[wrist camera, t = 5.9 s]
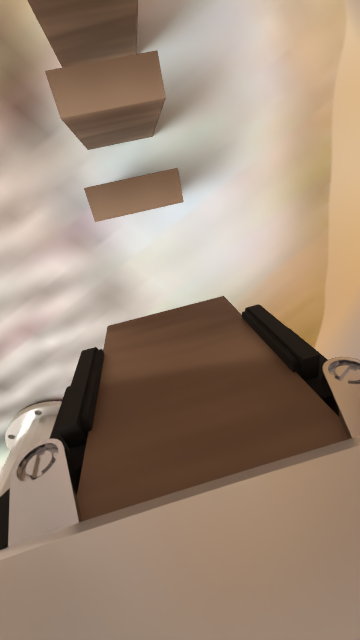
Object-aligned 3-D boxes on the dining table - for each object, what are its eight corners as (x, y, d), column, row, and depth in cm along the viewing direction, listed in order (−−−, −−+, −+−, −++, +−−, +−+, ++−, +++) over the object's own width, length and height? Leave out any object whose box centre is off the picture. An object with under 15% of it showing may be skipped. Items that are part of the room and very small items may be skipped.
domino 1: (136, 56, 21) (139, -51, 12) (63, 69, 20) (11, -31, 11) (129, 22, 20) (127, -121, 11) (53, 35, 19) (-13, -103, 11)
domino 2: (152, 136, 23) (165, 97, 14) (88, 149, 23) (60, 118, 14) (146, 109, 22) (157, 50, 13) (79, 122, 22) (45, 71, 13)
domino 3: (165, 201, 26) (183, 201, 17) (107, 213, 25) (95, 221, 16) (160, 179, 25) (177, 167, 16) (100, 192, 24) (83, 188, 16)
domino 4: (227, 329, 14) (405, 568, 5) (120, 358, 13) (98, 676, 4) (223, 296, 13) (432, 515, 4) (107, 326, 12) (49, 645, 4)
